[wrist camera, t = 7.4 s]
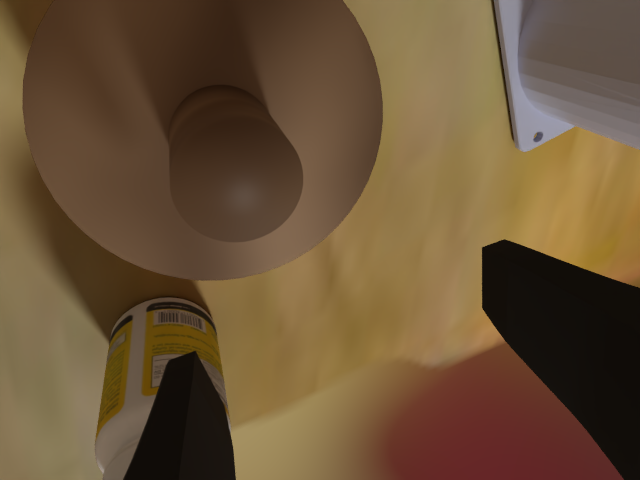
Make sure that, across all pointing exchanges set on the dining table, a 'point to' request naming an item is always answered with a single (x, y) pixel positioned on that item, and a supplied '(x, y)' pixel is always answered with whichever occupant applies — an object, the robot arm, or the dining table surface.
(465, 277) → the dining table surface
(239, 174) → the lid
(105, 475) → the supplement bottle
